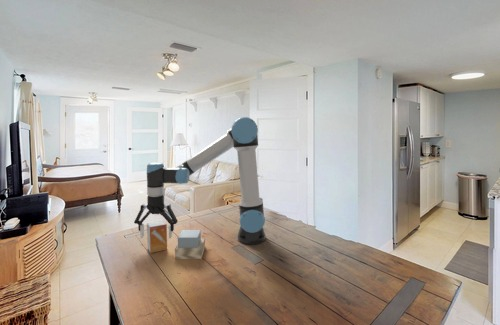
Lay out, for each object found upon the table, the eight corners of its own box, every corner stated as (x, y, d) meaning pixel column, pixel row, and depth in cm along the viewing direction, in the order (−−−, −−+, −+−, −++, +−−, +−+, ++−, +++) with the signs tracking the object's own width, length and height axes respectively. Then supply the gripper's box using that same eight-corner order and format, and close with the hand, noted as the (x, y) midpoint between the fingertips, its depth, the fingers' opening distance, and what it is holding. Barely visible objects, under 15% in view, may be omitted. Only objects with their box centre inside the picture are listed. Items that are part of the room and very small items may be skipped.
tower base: (205, 247, 129) (204, 238, 129) (201, 259, 117) (201, 249, 117) (181, 247, 129) (180, 238, 128) (175, 259, 117) (174, 249, 116)
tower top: (200, 239, 127) (200, 229, 126) (197, 247, 118) (197, 237, 117) (182, 239, 127) (182, 229, 126) (177, 247, 118) (177, 237, 117)
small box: (150, 253, 122) (149, 227, 120) (147, 248, 127) (146, 223, 125) (167, 249, 126) (166, 223, 125) (164, 244, 131) (163, 220, 130)
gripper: (183, 193, 127) (183, 234, 130) (132, 192, 127) (133, 233, 129) (179, 197, 120) (180, 240, 122) (125, 196, 119) (127, 240, 122)
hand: (156, 237), depth 126 cm, fingers open, 13 cm apart
